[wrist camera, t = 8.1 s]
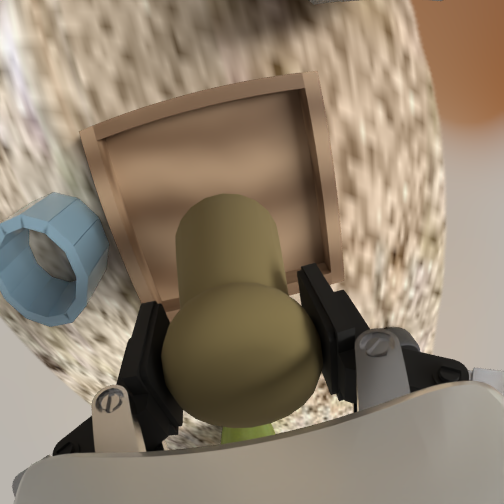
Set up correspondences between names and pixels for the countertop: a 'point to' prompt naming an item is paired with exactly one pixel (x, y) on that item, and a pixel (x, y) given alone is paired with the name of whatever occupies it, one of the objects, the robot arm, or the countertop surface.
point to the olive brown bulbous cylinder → (237, 320)
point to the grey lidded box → (326, 0)
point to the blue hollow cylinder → (34, 276)
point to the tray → (219, 175)
